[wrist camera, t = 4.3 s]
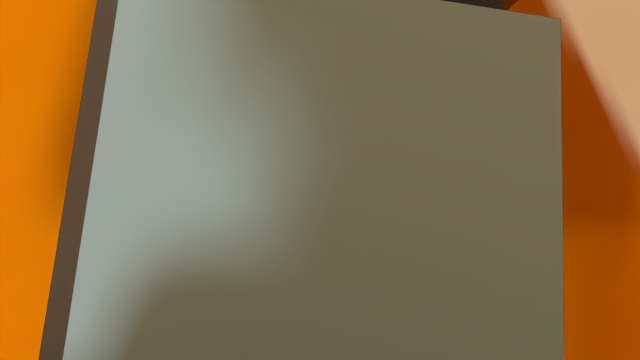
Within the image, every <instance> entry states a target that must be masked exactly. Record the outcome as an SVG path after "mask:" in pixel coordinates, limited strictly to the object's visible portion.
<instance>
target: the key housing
mask: <svg viewBox="0 0 640 360" xmlns="http://www.w3.org/2000/svg"><path fill="white" fill-rule="evenodd" d="M442 1H449V2H455V3H462V4H468V5H474V6H481V7H487V8H494V9H500V10H506V11H507V10H508V9H509V8H510V7H511V6H512V5H513V4H514V3H515V2H516V1H517V0H442ZM117 6H118V0H97V5H96V11H95V17H94V23H93V29H92V35H91V41H90V48H89V54H88V60H87V66H86V72H85V78H84V84H83V90H82V97H81V103H80V109H79V115H78V121H77V127H76V133H75V139H74V146H73V152H72V158H71V164H70V170H69V176H68V182H67V188H66V195H65V201H64V207H63V213H62V219H61V225H60V231H59V237H58V244H57V250H56V256H55V262H54V268H53V274H52V280H51V286H50V293H49V299H48V305H47V311H46V317H45V323H44V329H43V335H42V342H41V348H40V354H39V360H63V354H64V347H65V341H66V335H67V328H68V322H69V315H70V309H71V302H72V296H73V290H74V283H75V277H76V270H77V264H78V257H79V251H80V244H81V238H82V232H83V225H84V219H85V212H86V206H87V199H88V193H89V186H90V180H91V174H92V167H93V161H94V154H95V148H96V141H97V135H98V129H99V122H100V116H101V109H102V103H103V96H104V90H105V83H106V77H107V71H108V64H109V58H110V51H111V45H112V38H113V32H114V25H115V19H116V13H117Z"/></svg>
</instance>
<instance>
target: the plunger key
mask: <svg viewBox="0 0 640 360" xmlns="http://www.w3.org/2000/svg"><path fill="white" fill-rule="evenodd" d="M63 360H564V282H563V188H562V94H561V19H557V18H551V17H545V16H538V15H532V14H526V13H519V12H513V11H506V10H500V9H494V8H487V7H481V6H474V5H468V4H462V3H455V2H449V1H442V0H118V6H117V13H116V19H115V25H114V32H113V38H112V45H111V51H110V58H109V64H108V71H107V77H106V83H105V90H104V96H103V103H102V109H101V116H100V122H99V129H98V135H97V141H96V148H95V154H94V161H93V167H92V174H91V180H90V186H89V193H88V199H87V206H86V212H85V219H84V225H83V232H82V238H81V244H80V251H79V257H78V264H77V270H76V277H75V283H74V290H73V296H72V302H71V309H70V315H69V322H68V328H67V335H66V341H65V347H64V354H63Z"/></svg>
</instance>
